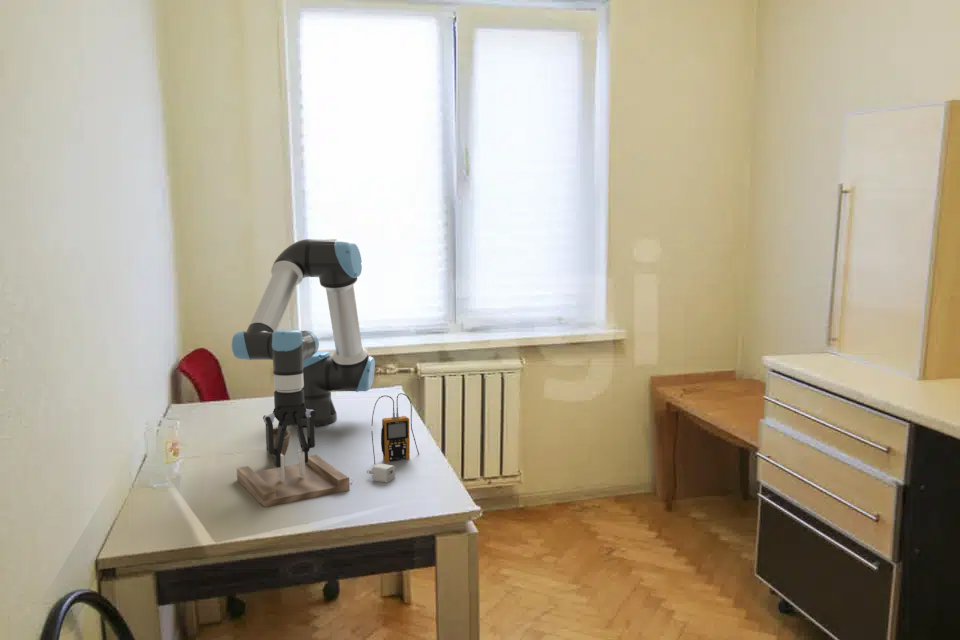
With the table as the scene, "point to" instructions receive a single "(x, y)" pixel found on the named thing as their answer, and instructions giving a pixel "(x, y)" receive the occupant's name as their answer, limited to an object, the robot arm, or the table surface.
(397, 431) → the multimeter
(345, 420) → the table surface
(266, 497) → the block
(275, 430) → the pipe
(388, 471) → the usb wall charger
